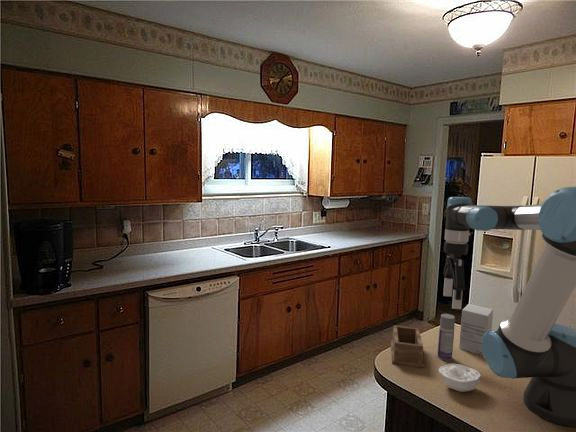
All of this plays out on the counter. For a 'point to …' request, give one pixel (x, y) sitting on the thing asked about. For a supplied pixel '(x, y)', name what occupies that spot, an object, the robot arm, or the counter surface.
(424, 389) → the counter surface
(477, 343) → the supplement box
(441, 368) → the cell model
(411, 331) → the open wooden box
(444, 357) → the container
